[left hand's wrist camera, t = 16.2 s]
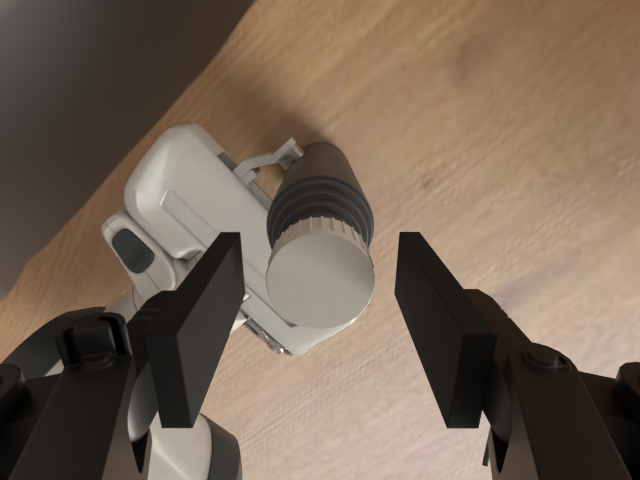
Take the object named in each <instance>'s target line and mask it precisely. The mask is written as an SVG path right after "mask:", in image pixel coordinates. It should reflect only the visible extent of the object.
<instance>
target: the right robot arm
mask: <svg viewBox="0 0 640 480" xmlns="http://www.w3.org/2000/svg"><path fill="white" fill-rule="evenodd" d="M304 153H305V152H304V150H303V149H302V148H301V147H300V146H299V145H298V143H297V142H296V141H295V140H294V139H293V138H292V137H291V138H290V139H289V140H288V141H287V142H285V143H284V144H283V145H282V146H281V147H280V148H279V149H278V150H277V151H276V152H274V151H273V152H268V153H263V154H258V155H253V156H249V157H247V158H246V159H245V160H243V161H242V162H241V163H240V164H239V165H238V164H237V163H236V162H235V161H234V160H233V159H232V158H231V157H230V156H229V154H228V153H227V152H226V151H225V150H224V149H223V148H222V147H221V146H220V145H219V144H218V143H217V142H216V141H215V140H214V139H213V138H212V137H211V136H210V134H209V133H208V132H207V131H206V130H205V129H204V128H203V127H202V126H200V125H199V124H188V123H185V124H177V125H174V126H171V127H170V128H168V129H167V130H166V131H165V132H164V133H163V134H162V135H161V136H160V137H159V138H158V139H157V140H156V141H155V143H154V144H153V145H152V146H151V147H150V149H149V150H148V151H147V152H146V154H145V155H144V156H143V158H142V159H141V161H140V162H139V163H138V165H137V166H136V168H135V169H134V171H133V172H132V174H131V176H130V177H129V179H128V181H127V183H126V186H125V189H124V194H123V200H124V206H123V207H121V208H120V209H119V210H117V211H116V212H115V213H113V214H112V215H111V216H110V217H109V218H108V219H107V220H106V221H105V222H104V223H103V224H102V227H101V232H102V235H103V237H104V238H105V240H106V242H107V243H108V244H109V246H110V247H111V249H112V250H113V252H114V253H115V255H116V256H117V257H118V259H119V260H120V262H121V264H122V265H123V267H124V268H125V270H126V271H127V273H128V275H129V276H130V278H131V280H132V282H133V283H132V285H131V287H130V289H129V290H128V292H127V293H125V294H124V295H121V296H119V297H117V298H115V299H113V300H112V301H111V302H109V303H108V304H107V305H106V306H105V307H92V308H86V309H80V310H75V311H70V312H66V313H64V314H62V315H60V316H58V317H56V318H54V319H53V320H51V321H49V322H48V323H46V324H45V325H43V326H42V327H41V328H39V329H38V330H37V331H35V332H34V333H33V334H32V335H31V336H29V337H28V338H27V339H26V340H25V341H24V342H22V343H21V344H20V345H19V346H18V347H17V348H16V349H15V350H14V351H13V352H12V353H11V354H10V355H9V356H8V357H7V358H6V359H5V360H4V361H3V362H2V363H1V364H14V365H16V366H18V367H19V368H20V369H21V371H22V373H23V376H24V379H25V380H29V379H34V378H39V377H44V376H49V375H54V374H58V373H61V372H62V370H63V368H64V366H63V363H62V360H61V357H60V354H59V351H58V348H57V344H56V341H55V338H54V334H55V333H56V332H57V331H58V330H59V329H60V328H61V327H62V326H64V325H66V324H67V323H69V322H71V321H73V320H75V319H78V318H80V317H83V316H86V315H90V314H95V313H102V312H113V313H118V314H121V315H122V316H123V317H125V321H126V323H127V322H128V321H129V320H130V319H132V317H133V315H134V314H135V313H136V312H137V311H139V310H140V308H141V306H142V305H143V304H144V303H145V302H146V301H147V300H148V299H149V298H150V297H152V296H154V295H155V294H157V293H159V292H160V291H162V290H176V289H177V288H178V287H179V285H180V284H181V283H182V281H183V280H184V279H185V278H186V276H187V275H188V274H189V272H190V271H191V270H192V268H193V267H194V266H195V265H196V263H197V262H198V261H199V259H200V258H201V257H202V256H203V254H204V253H205V252H206V250H207V249H208V248H209V246H210V245H211V244H212V243H213V241H214V240H215V239H216V237H217V236H218V235H219V234H220V232H240V235H241V247H242V259H243V270H244V282H245V296H244V299H243V302H242V304H241V307H240V309H239V312H238V314H237V317H236V319H235V322H234V325H233V327H232V330H231V332H230V334H231V333H232V332H233V331H235V330H236V329H237V328H238V327H240V326H241V325H242V324H243V325H244V326H245V327H247V328H248V329H249V330H250V331H251V332H252V333H253V334H255V335H256V336H258V337H259V338H260V339H262V340H263V341H264V342H265V343H266V344H267V346H268V347H269V348H270V349H271V350H273V351H274V352H276V353H278V354H280V353H281V352H282V353H284V354H286V355H292V356H300V355H302V354H303V353H305V352H306V351H308V350H309V349H310V348H312V347H313V346H314V345H315V344H316V343H318V342H320V341H322V340H324V339H326V338H328V337H330V336H332V335H334V334H335V333H337V332H339V331H340V330H342V329H344V328H345V327H347V326H349V325H350V324H351V323H353V322H354V321H355V320H356V319H357V317H358V316H357V317H356V318H354V319H353V320H352V321H350V322H348V323H346V324H344V325H342V326H339V327H335V328H330V329H310V328H305V327H302V326H299V325H297V324H294V323H293V322H291V321H289V320H288V319H286V318H285V317H284V316H282V315H281V314H280V313H279V312H278V311H277V309H276V308H275V307H274V305H273V304H272V302H271V300H270V298H269V295H268V291H267V286H266V276H267V275H266V272H267V269H268V266H269V265H267V264H268V261H269V258H270V255H271V252H272V250H271V247H270V244H269V240H268V236H267V228H266V223H267V216H268V212H269V209H270V206H271V204H272V202H273V201H272V200H271V199H270V198H269V197H268V196H267V194H266V193H265V192H264V191H263V190H262V189H261V188H260V187H259V186H258V185H257V184H256V183H255V182H254V181H253V180H252V179H253V178H254V177H256V175H257V174H258V173H259V172H260V168H259V167H261V166H266V165H270V164H275V163H279V164H280V165H281V166H282V167H283V168H284V169H285V170H287V169H289V168H290V167H291V166H292V165H293V163H294V161H297V160H298V159H300V158H301V157H302V156H303V155H304ZM285 348H286V349H287V350H286V349H285ZM150 431H151V436H152V449H151V456H150V464H149V472H148V480H242V464H241V455H240V449H239V444H238V441H237V439H236V438H235V437H234V436H233V435H232V434H230V433H229V432H228V431H226V430H225V429H223V428H222V427H220V426H219V425H218V424H216V423H215V422H213V421H212V420H210V419H209V418H208V417H206V416H205V415H203V414H201V413H199V414H198V416H197V419H196V422H195V424H194V427H193V428H162V427H161V423H160V418H159V413H158V412H157V414H156V415H155V417H154V419H153V421H152V423H151V425H150Z"/></svg>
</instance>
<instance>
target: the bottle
mask: <svg viewBox="0 0 640 480" xmlns="http://www.w3.org/2000/svg"><path fill="white" fill-rule="evenodd" d="M302 149H303V150H304V152H305V153H304V155H303V156H302V157H301V158H300V159H298V160H297V161H294V163H293V165H292V166H291V167H290V168H289V169H288V171H287V173H286V175H285V177H284V179H283V181H282V183H281V185H280V187H279V189H278V192H277V194H276V196H275V198H274V200H273V202H272V204H271V206H270V209H269V212H268V216H267V223H266V228H267V236H268V240H269V244H270V247H271V250H272V249H273V248H274V245H275V242H276V240H278V239H279V238H280V237H281V233H282V232H285V231H286V230H287V229H288V228H289V226H290V225H294V224H296V223H298V222H299V220H301V221H302V220H305V219H309V218H310V217H312V218H315V217H321V216H323V217H325V218H331V219H332V217H333V218H334V219H335V220H338V221H341V222H342V221H344V222H345V224H347V225H348V226H350V227H353V228H354V230H355V231H356V232H357V233H358V235H359V234H360V235H361V237H362V240H363V242H364V243H366V245H367V248H368V250H369V248H370V245H371V242H372V238H373V233H374V218H373V214H372V210H371V208H370V205H369V203H368V201H367V199H366V197H365V195H364V193H363V191H362V189H361V187H360V185H359V183H358V181H357V179H356V177H355V175H354V172H353V170H352V168H351V166H350V164H349V162H348V160H347V158H346V157H345V155H344V154H343V153H342V152H341V151H340V150H339V149H338V148H337V147H335V146H333V145H331V144H327V143H313V144H309V145H307V146H305V147H304V148H302Z"/></svg>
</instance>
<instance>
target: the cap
mask: <svg viewBox="0 0 640 480" xmlns="http://www.w3.org/2000/svg"><path fill="white" fill-rule="evenodd" d="M267 265H269V266H268V269H267V272H266V275H267V276H266V286H267V291H268V295H269V298H270V300H271V302H272V304H273V305H274V307H275V308H276V309H277V311H278V312H279V313H280V314H281V315H282V316H284V317H285V318H286V319H288V320H289V321H291V322H293V323H294V324H297V325H299V326H302V327H305V328H310V329H330V328H335V327H339V326H342V325H344V324H346V323H348V322H350V321H352V320H353V319H354V318H356V317H357V316H358V315H359V314H360V313H361V312H362V311H363V310H364V309H365V308H366V306H367V305H368V303H369V301H370V299H371V297H372V294H373V290H374V279H375V276H374V271H373V268H374V266H373V263H372V260H371V257H370V254H369V251H368V248H367V245H366V243H364V242H363V240H362V237H361V235H360V234H359V235H358V233H357V232H356V231H355V230H354V228H353V227H350V226H348V225H347V224H345V222H344V221H342V222H341V221H338V220H335V219H334V218H333V217H332V219H331V218H325V217H323V216H321V217H315V218H312V217H310V218H309V219H305V220H302V221H301V220H299V222H298V223H296V224H294V225H290V226H289V228H288V229H287V230H286V231H285V232H282V233H281V237H280V238H279V239H278V240H276V242H275V245H274V248H273V249H272V252H271V255H270V258H269V261H268V264H267Z"/></svg>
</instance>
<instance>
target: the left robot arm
mask: <svg viewBox="0 0 640 480" xmlns="http://www.w3.org/2000/svg"><path fill="white" fill-rule="evenodd" d="M244 296H245V282H244V270H243V259H242V247H241V235H240V232H220V234H219V235H218V236H217V237H216V239H215V240H214V241H213V243H212V244H211V245H210V246H209V248H208V249H207V250H206V252H205V253H204V254H203V256H202V257H201V258H200V259H199V261H198V262H197V263H196V265H195V266H194V267H193V268H192V270H191V271H190V272H189V274H188V275H187V276H186V278H185V279H184V280H183V281H182V283H181V284H180V285H179V287H178V288H177V289H176V290H162V291H160V292H159V293H157V294H155V295H154V296H152V297H150V298H149V299H148V300H147V301H146V302H145V303H144V304H143V305H142V306H141V308H140V310H139V311H137V312H136V313H135V314H134V315H133V317H132V319H130V320H129V321H128V322H127V323H126V321H125V317H123V316H122V315H121V314H118V313H113V312H102V313H95V314H90V315H86V316H83V317H80V318H78V319H75V320H73V321H71V322H69V323H67V324H66V325H64V326H62V327H61V328H60V329H59V330H58V331H57V332H56V333H55V334H54V338H55V341H56V344H57V348H58V351H59V354H60V357H61V360H62V363H63V366H64V368H63V370H62V372H61V373H58V374H54V375H49V376H44V377H39V378H34V379H29V380H25V379H24V376H23V373H22V371H21V369H20V368H19V367H18V366H16V365H14V364H0V480H148V472H149V464H150V456H151V449H152V436H151V431H150V425H151V423H152V421H153V419H154V417H155V415H156V414H157V412H158V413H159V418H160V423H161V427H162V428H193V427H194V424H195V422H196V419H197V416H198V414H199V411H200V409H201V406H202V404H203V401H204V399H205V396H206V393H207V391H208V388H209V386H210V383H211V381H212V378H213V376H214V373H215V370H216V368H217V365H218V363H219V360H220V358H221V355H222V353H223V350H224V348H225V345H226V342H227V340H228V337H229V335H230V332H231V330H232V327H233V325H234V322H235V319H236V317H237V314H238V312H239V309H240V307H241V304H242V302H243V299H244ZM395 296H396V299H397V302H398V304H399V307H400V309H401V312H402V314H403V317H404V319H405V322H406V325H407V327H408V330H409V332H410V335H411V337H412V340H413V342H414V345H415V348H416V350H417V353H418V355H419V358H420V360H421V363H422V365H423V368H424V370H425V373H426V376H427V378H428V381H429V383H430V386H431V388H432V391H433V393H434V396H435V399H436V401H437V404H438V406H439V409H440V411H441V414H442V416H443V419H444V422H445V424H446V427H447V428H478V427H479V423H480V418H481V413H482V410H483V412H484V414H485V415H486V417H487V419H488V421H489V423H490V425H491V426H490V431H489V435H488V439H487V444H486V448H485V453H484V457H483V464H482V465H484V466H488V462H489V458H490V463H491V471H492V479H493V480H640V362H631V363H625V364H623V365H622V366H621V367H620V368H619V371H618V373H617V376H616V379H614V378H609V377H604V376H599V375H594V374H589V373H584V372H580V371H578V370H577V368H576V366H575V365H574V364H573V363H572V361H571V360H570V359H569V358H567V357H566V356H565V355H563V354H562V353H560V352H559V351H557V350H554V349H552V348H550V347H548V346H545V345H541V344H537V343H532V342H531V341H530V340H529V339H528V338H527V336H526V335H525V334H524V333H523V332H522V331H521V330H520V329H519V327H518V326H517V325H516V324H515V323H514V322H513V321H512V320H511V318H508V315H507V314H506V313H505V312H504V311H503V309H501V307H500V306H499V305H498V304H497V303H496V301H495V300H494V299H493V298H492V297H490V296H489V295H487V294H485V293H484V292H482V291H480V290H478V289H463V288H462V287H461V285H460V284H459V283H458V281H457V280H456V279H455V278H454V276H453V275H452V274H451V272H450V271H449V270H448V268H447V267H446V266H445V265H444V263H443V262H442V261H441V259H440V258H439V257H438V256H437V254H436V253H435V252H434V250H433V249H432V248H431V246H430V245H429V244H428V243H427V241H426V240H425V239H424V237H423V236H422V235H421V234H420V232H400V235H399V247H398V259H397V270H396V282H395Z"/></svg>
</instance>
